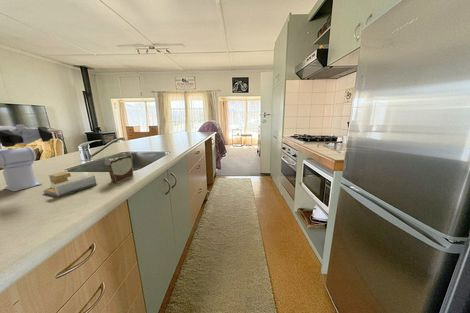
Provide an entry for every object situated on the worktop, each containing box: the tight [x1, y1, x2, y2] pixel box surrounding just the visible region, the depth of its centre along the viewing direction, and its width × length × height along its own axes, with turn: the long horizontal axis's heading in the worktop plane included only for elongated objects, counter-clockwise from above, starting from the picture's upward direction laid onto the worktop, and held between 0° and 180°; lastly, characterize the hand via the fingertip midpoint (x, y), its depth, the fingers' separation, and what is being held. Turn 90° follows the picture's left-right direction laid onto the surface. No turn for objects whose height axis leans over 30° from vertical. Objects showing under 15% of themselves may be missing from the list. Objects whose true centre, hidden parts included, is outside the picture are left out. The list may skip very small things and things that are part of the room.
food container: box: [103, 153, 134, 184], centre depth 78 cm, size 12×6×10 cm, turn 168°
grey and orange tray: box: [43, 174, 98, 198], centre depth 69 cm, size 10×12×4 cm
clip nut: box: [48, 171, 72, 185], centre depth 73 cm, size 5×4×5 cm
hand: (37, 137), depth 62 cm, fingers open, 7 cm apart
